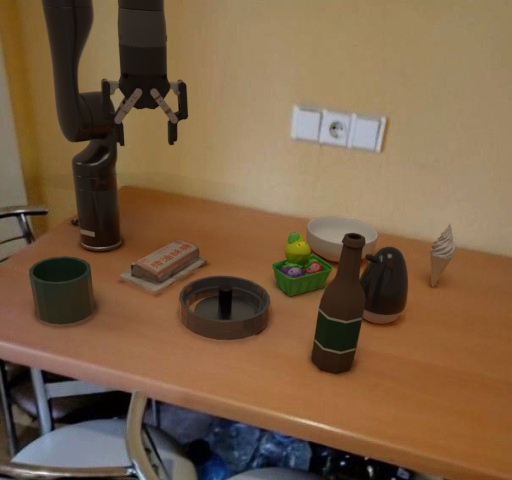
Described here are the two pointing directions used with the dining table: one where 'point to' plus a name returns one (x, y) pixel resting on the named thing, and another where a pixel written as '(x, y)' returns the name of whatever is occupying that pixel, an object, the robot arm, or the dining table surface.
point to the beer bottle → (341, 311)
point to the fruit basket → (300, 268)
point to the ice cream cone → (441, 254)
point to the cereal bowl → (337, 235)
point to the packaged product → (164, 266)
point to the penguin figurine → (385, 285)
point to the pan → (224, 327)
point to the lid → (224, 306)
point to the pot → (62, 290)
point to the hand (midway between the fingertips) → (146, 144)
